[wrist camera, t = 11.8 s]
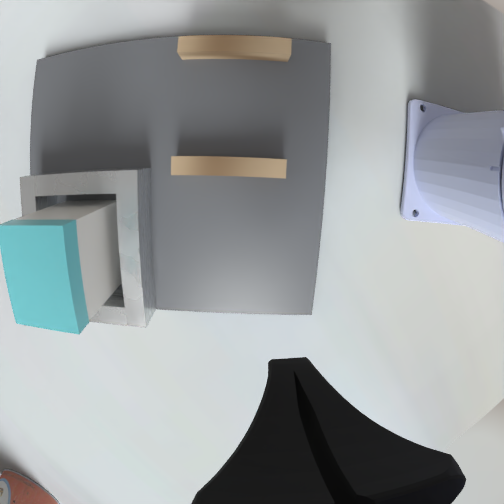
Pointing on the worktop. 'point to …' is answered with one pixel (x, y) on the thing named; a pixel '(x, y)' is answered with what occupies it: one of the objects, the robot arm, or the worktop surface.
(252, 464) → the robot arm
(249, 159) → the wooden parallel rails
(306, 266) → the panel board
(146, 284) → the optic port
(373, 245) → the worktop surface
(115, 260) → the plug
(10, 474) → the canned food
